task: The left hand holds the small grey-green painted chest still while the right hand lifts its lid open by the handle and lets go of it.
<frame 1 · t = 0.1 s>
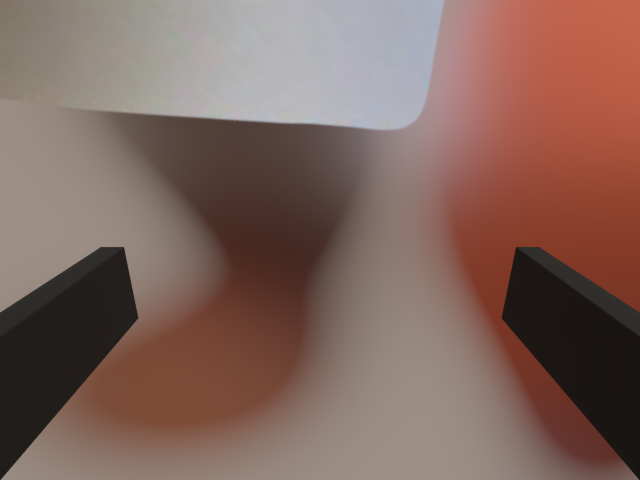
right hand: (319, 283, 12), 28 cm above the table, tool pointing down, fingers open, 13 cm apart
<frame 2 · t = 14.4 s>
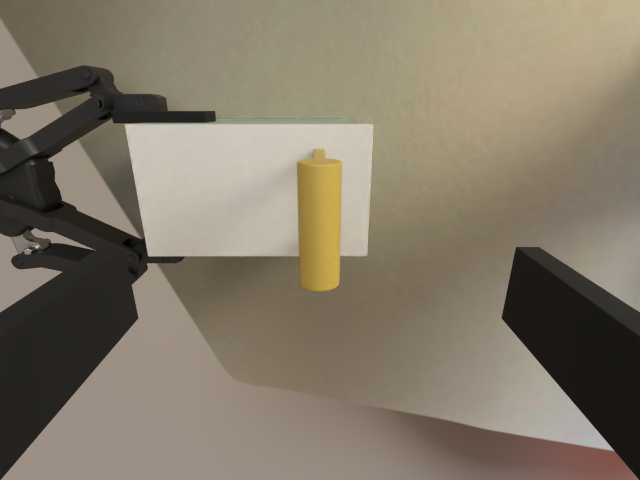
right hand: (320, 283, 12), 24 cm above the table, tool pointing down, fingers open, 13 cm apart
left hand: (217, 183, 28), fingers closed on chest, 9 cm apart
lid: (244, 207, 22), point 14 cm above the table, hinge at 0.0°
chest: (268, 168, 35), on the table, touching left hand
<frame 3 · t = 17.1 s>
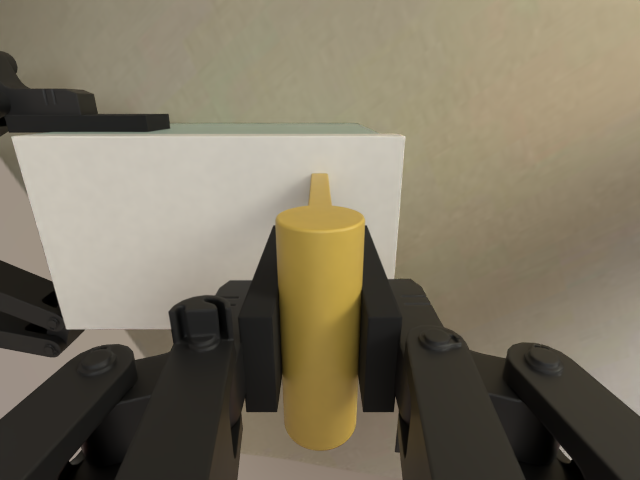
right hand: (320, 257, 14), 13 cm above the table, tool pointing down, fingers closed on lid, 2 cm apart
lid: (195, 274, 13), point 14 cm above the table, hinge at 0.1°, touching right hand
chest: (251, 189, 26), on the table, touching left hand
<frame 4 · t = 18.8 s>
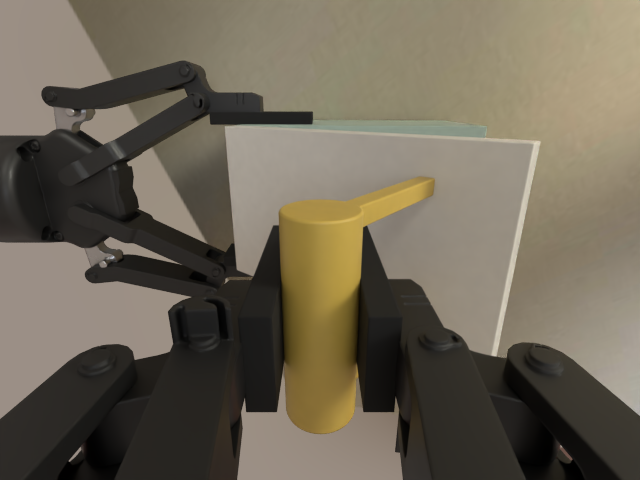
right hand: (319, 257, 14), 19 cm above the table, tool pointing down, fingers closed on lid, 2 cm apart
left hand: (312, 190, 26), fingers closed on chest, 9 cm apart
lid: (288, 247, 16), point 18 cm above the table, hinge at 36.6°, touching right hand
chest: (350, 174, 32), on the table, touching left hand
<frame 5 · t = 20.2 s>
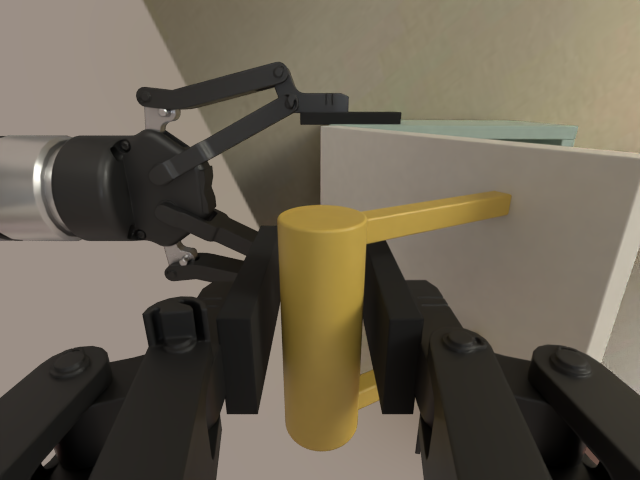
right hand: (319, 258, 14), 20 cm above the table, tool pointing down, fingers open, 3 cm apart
left hand: (391, 189, 26), fingers closed on chest, 9 cm apart
lid: (341, 252, 15), point 19 cm above the table, hinge at 59.6°
chest: (413, 173, 33), on the table, touching left hand
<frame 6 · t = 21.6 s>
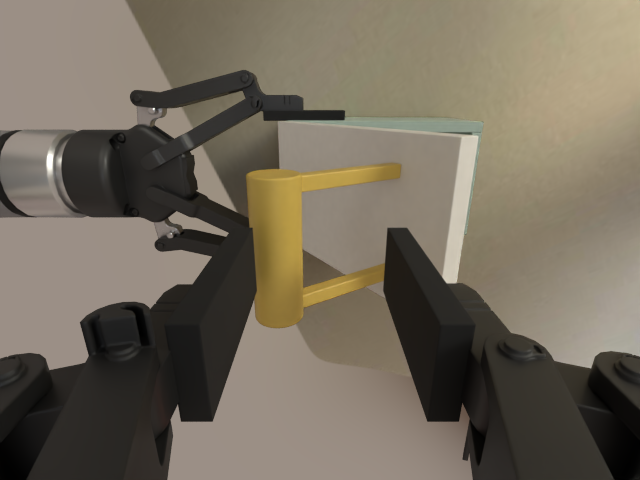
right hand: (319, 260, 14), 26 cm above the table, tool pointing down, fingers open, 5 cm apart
left hand: (342, 174, 32), fingers closed on chest, 9 cm apart
lid: (293, 212, 21), point 19 cm above the table, hinge at 54.7°
chest: (368, 162, 38), on the table, touching left hand
when the left hand's fingers open (7 cm above the table, at t = 24.2 s): chest stays where it is, on the table.
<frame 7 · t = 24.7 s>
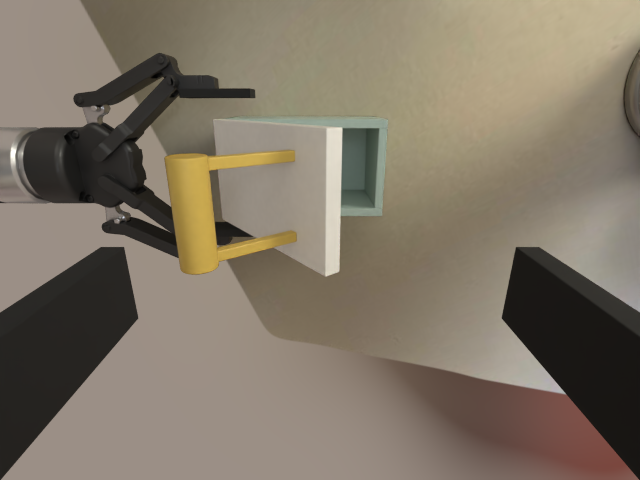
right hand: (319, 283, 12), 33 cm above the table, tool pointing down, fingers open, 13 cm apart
left hand: (257, 165, 37), fingers open, 13 cm apart
lid: (218, 191, 26), point 19 cm above the table, hinge at 52.2°
chest: (308, 156, 44), on the table
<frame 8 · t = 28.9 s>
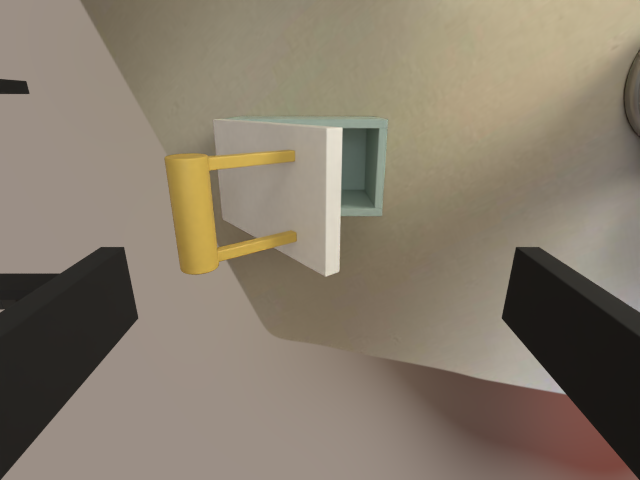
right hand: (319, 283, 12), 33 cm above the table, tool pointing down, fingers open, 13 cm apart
lid: (218, 191, 26), point 19 cm above the table, hinge at 52.2°
chest: (308, 156, 44), on the table
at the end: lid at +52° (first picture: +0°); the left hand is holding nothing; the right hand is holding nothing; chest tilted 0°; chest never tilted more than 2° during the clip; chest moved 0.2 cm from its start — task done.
